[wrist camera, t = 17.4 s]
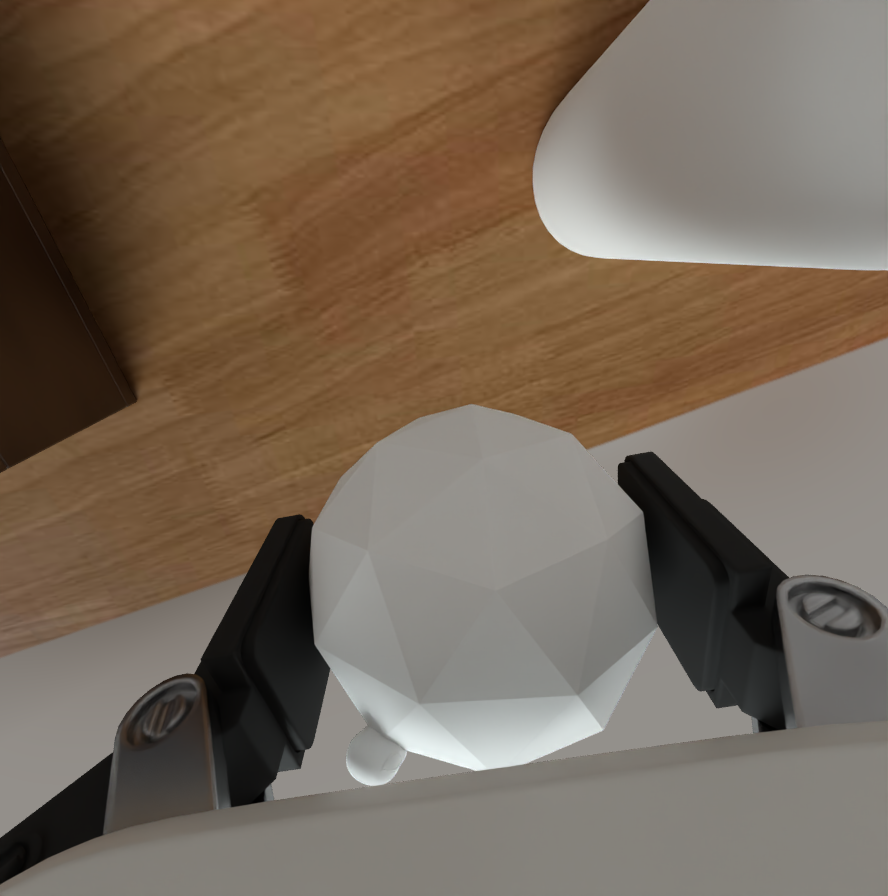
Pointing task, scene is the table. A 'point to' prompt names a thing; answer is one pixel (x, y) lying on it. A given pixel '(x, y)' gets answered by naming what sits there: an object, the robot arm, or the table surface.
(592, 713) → the ornament
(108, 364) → the cabinet
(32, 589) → the table surface
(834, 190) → the bottle
